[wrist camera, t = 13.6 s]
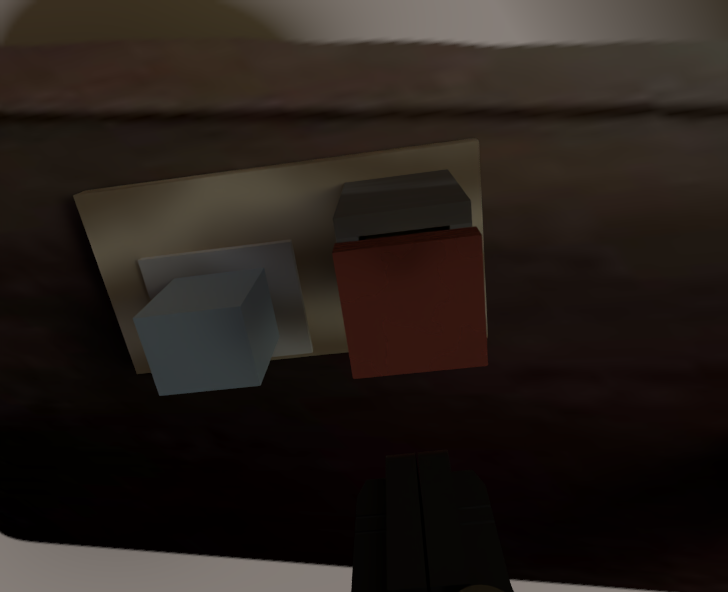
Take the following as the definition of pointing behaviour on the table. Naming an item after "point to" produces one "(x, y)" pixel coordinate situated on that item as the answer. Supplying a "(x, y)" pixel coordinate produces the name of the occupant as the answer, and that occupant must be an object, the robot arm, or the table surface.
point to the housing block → (209, 332)
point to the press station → (275, 230)
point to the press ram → (413, 301)
